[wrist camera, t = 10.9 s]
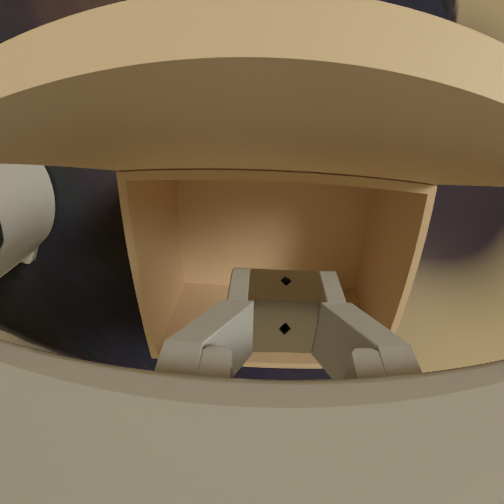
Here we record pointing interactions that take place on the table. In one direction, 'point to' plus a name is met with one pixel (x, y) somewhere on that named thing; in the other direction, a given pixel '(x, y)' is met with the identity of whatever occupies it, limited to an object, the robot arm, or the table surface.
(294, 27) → the carton lid
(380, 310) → the carton
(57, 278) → the table surface
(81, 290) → the table surface
